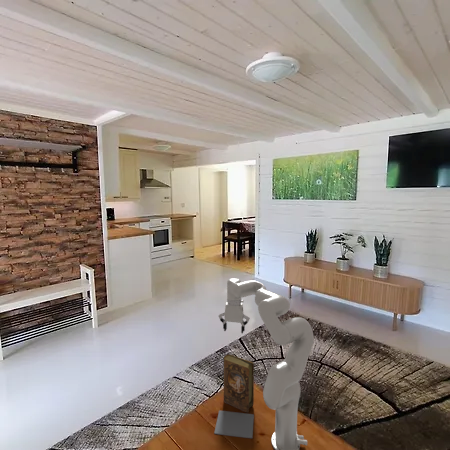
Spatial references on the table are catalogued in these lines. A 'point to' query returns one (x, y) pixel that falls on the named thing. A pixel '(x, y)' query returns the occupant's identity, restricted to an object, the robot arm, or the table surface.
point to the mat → (234, 424)
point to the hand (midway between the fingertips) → (233, 331)
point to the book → (238, 382)
